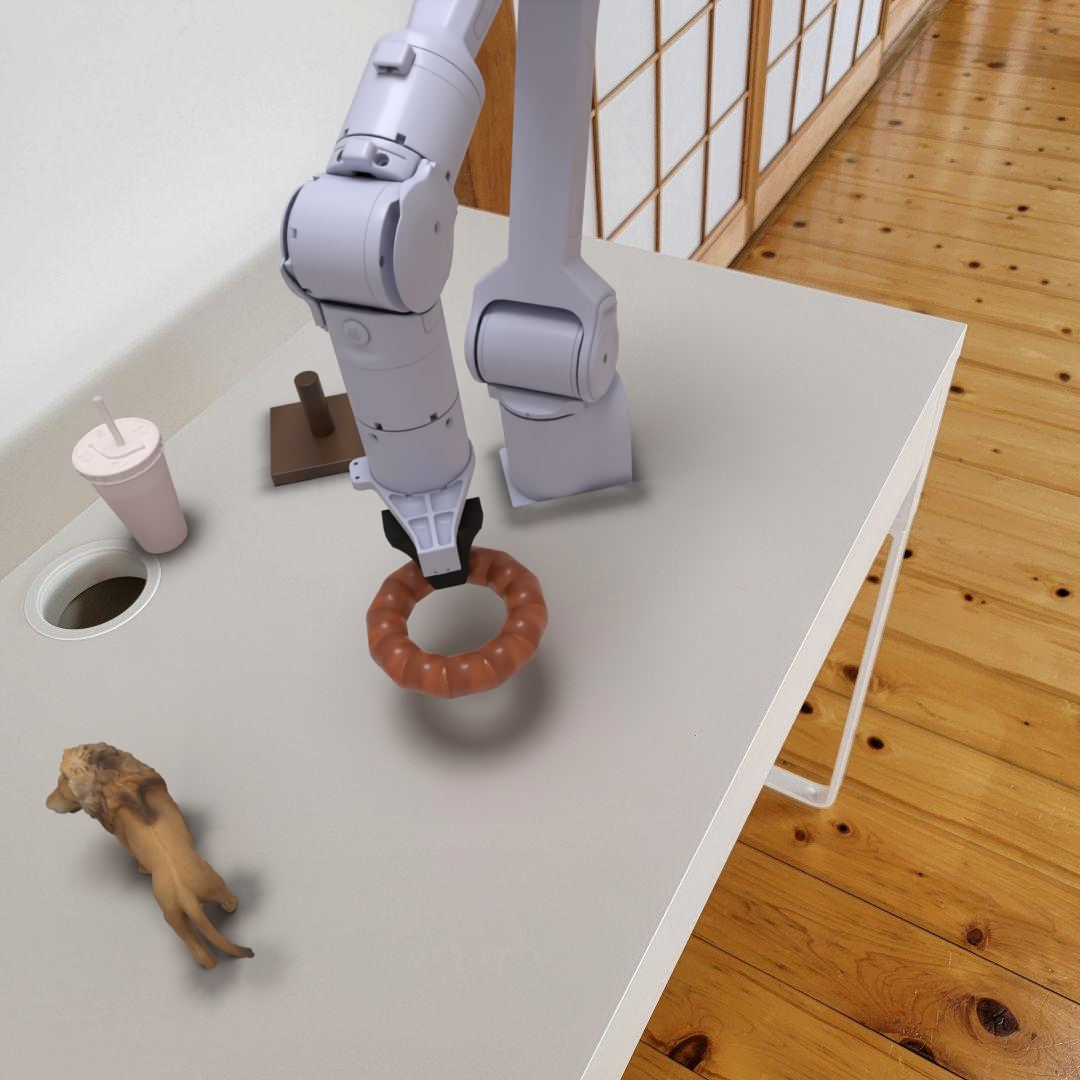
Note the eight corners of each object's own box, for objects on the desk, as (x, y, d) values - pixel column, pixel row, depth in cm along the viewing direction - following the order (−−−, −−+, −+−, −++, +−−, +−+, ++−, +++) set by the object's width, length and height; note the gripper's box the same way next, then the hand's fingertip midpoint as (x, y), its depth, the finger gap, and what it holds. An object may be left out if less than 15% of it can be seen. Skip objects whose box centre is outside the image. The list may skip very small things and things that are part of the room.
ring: (528, 548, 65) (525, 522, 63) (564, 681, 57) (561, 657, 56) (365, 583, 64) (356, 558, 62) (380, 723, 57) (371, 699, 55)
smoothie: (183, 570, 76) (108, 431, 66) (108, 562, 77) (24, 425, 67) (217, 510, 80) (152, 371, 70) (146, 504, 81) (72, 366, 71)
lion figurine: (85, 847, 61) (15, 773, 54) (157, 785, 63) (98, 706, 57) (232, 1005, 54) (171, 941, 47) (306, 927, 56) (259, 856, 50)
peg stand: (374, 398, 88) (357, 335, 83) (383, 464, 82) (365, 401, 77) (273, 417, 88) (250, 356, 83) (274, 486, 82) (249, 424, 77)
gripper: (323, 333, 57) (373, 499, 67) (338, 505, 47) (395, 670, 57) (443, 309, 58) (476, 478, 68) (483, 475, 48) (515, 644, 58)
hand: (446, 565), depth 63 cm, fingers closed on ring, 2 cm apart
